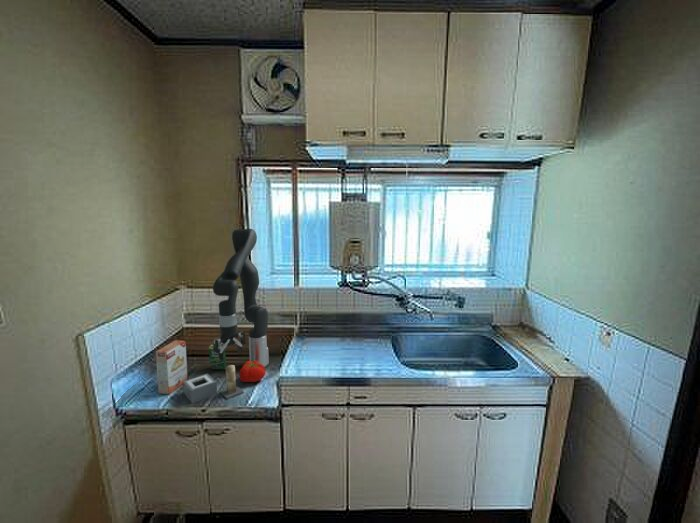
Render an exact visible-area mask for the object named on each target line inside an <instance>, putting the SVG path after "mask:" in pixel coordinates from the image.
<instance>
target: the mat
mask: <svg viewBox="0 0 700 523" xmlns="http://www.w3.org/2000/svg"><path fill="white" fill-rule="evenodd" d="M219 393H220V394H221V396H223V397H224V398H225V399H226V400H230V399H232V398H235V397H237V396H241V395H242V394H244V393H245V391H244V390H243V389H242V388H241V387H239V385H238V384H236V392H234V393H227V387H226V388H224V389H222V390H219ZM229 398H230V399H229Z"/></svg>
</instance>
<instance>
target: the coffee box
mask: <svg viewBox="0 0 700 523" xmlns="http://www.w3.org/2000/svg"><path fill="white" fill-rule="evenodd" d="M219 347H220V344H218V349H219ZM208 354H209V366H210V370H226V367H227V358H226V357H227V356H226V348H225V349H224V350H223V360H222V361H221V360H220V359H219V356H218V353H215V352H214V351H213V344H210V345H209V346H208Z"/></svg>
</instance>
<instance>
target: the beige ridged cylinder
mask: <svg viewBox="0 0 700 523" xmlns="http://www.w3.org/2000/svg"><path fill="white" fill-rule="evenodd" d="M225 377H226V378H225V380H226V388H227V393H234V392H236V385H237V380H236V367H235V365H234V364H230V365H226V368H225Z"/></svg>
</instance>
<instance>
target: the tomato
mask: <svg viewBox="0 0 700 523" xmlns="http://www.w3.org/2000/svg"><path fill="white" fill-rule="evenodd" d="M241 366H242V367H241V368H240V370H239V372H238V377H239V379H240V380H241V382H243V383H250V382H251V383H255V382H259V381H260V380H263V379H264V378H265V376H266V368H265V367H264V366H263V365H262V364H261V363H259V362H258V361H252V362H251V361H250V360H247V361H246V362H245V363H244V364H243V365H241Z"/></svg>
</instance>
